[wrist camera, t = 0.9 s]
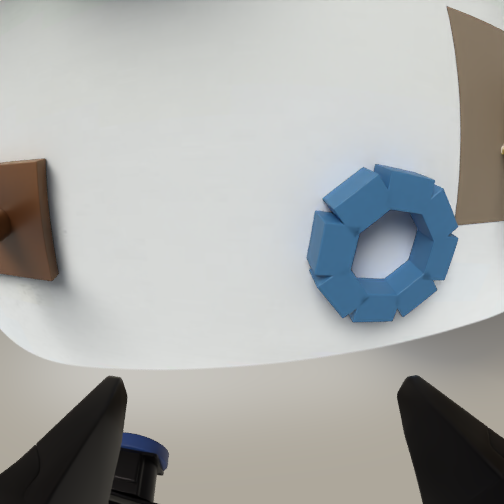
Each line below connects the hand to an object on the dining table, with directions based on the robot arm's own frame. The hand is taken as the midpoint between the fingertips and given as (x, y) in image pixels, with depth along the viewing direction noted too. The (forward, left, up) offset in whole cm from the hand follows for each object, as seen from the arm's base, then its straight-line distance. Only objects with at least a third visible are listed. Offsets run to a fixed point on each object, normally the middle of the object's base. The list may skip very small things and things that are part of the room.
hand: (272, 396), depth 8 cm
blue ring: (0, -9, -13) cm, 16 cm away
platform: (+12, -20, -13) cm, 27 cm away
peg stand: (0, +19, -13) cm, 23 cm away
